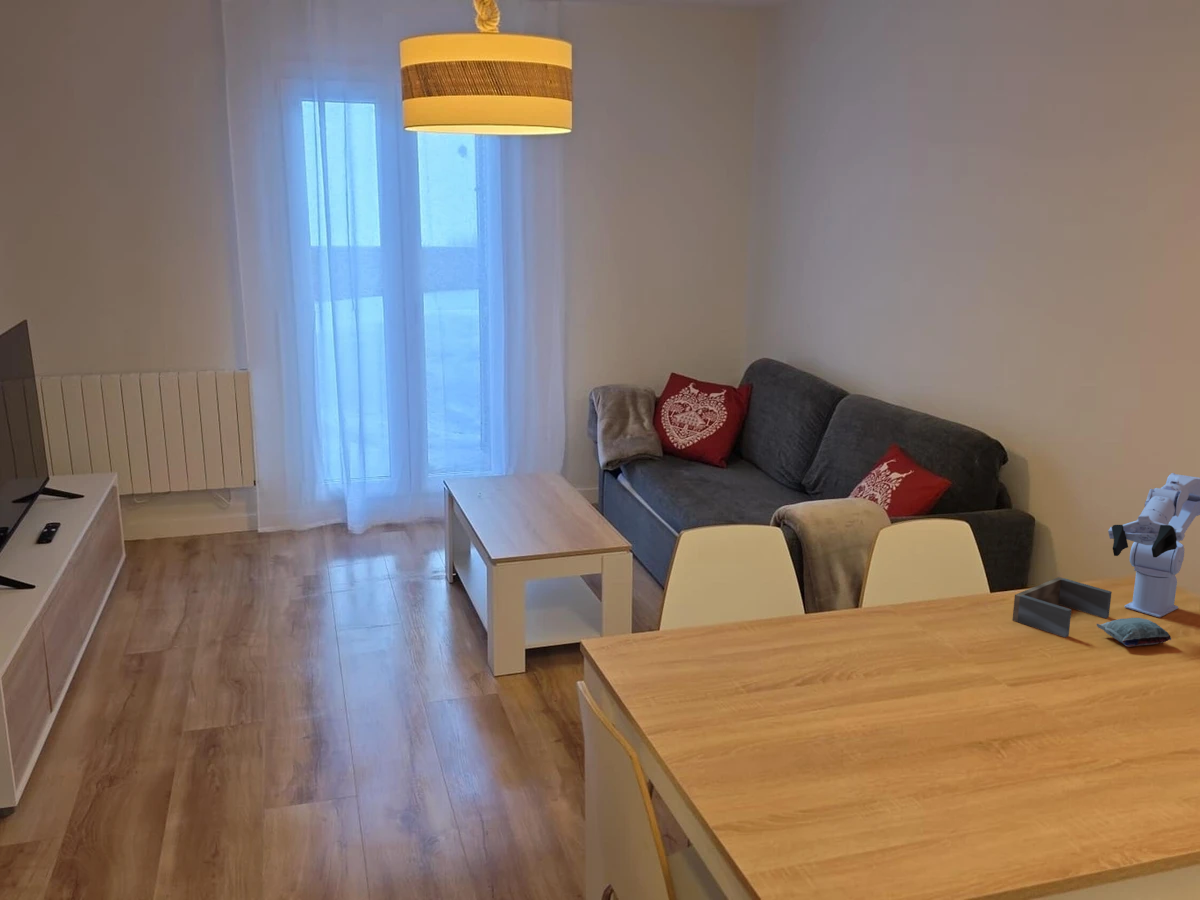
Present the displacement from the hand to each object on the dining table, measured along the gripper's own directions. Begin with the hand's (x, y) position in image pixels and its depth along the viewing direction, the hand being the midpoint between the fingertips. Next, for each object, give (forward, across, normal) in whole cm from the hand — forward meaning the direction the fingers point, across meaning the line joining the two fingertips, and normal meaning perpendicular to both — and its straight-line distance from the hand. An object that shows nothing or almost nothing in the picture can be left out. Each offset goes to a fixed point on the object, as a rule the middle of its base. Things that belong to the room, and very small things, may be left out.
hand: (1134, 552), depth 218 cm
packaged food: (+7, -2, +18) cm, 19 cm away
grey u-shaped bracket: (+4, -17, +15) cm, 23 cm away
